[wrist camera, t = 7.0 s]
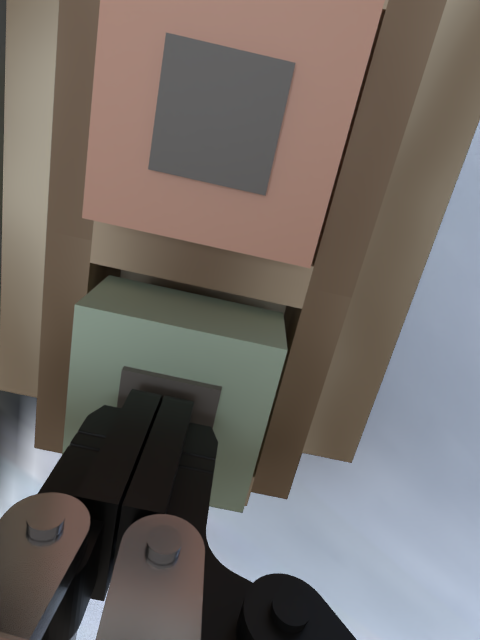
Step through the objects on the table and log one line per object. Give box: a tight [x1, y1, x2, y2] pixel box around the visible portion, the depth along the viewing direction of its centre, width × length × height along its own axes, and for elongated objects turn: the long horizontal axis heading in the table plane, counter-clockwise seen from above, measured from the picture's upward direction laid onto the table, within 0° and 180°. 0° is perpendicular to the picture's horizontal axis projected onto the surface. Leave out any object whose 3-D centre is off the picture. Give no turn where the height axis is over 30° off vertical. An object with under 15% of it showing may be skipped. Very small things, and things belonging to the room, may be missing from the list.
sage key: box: [62, 275, 288, 513], centre depth 13 cm, size 5×5×3 cm
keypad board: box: [0, 0, 480, 506], centre depth 13 cm, size 14×22×4 cm, turn 168°
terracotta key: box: [82, 0, 385, 268], centre depth 10 cm, size 5×5×3 cm
